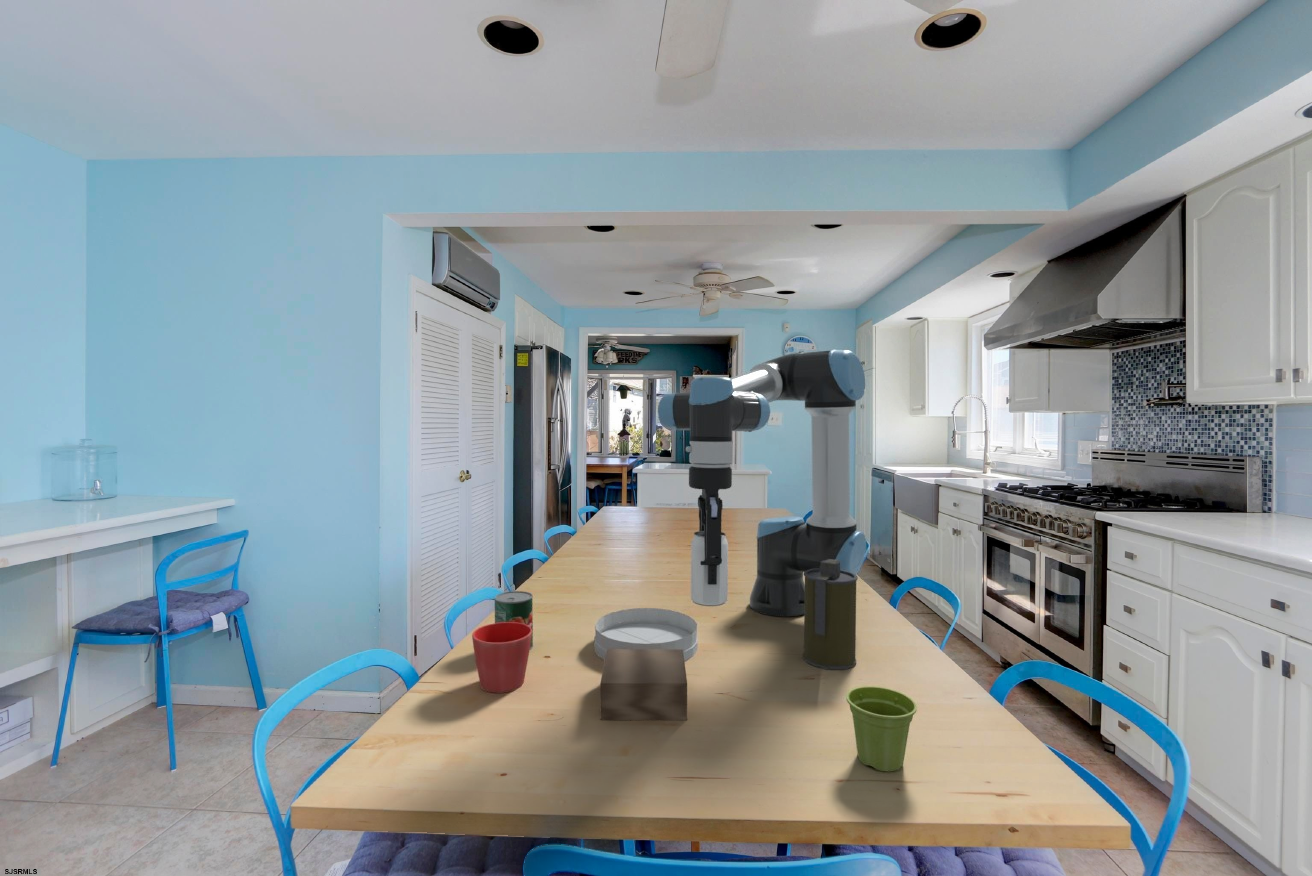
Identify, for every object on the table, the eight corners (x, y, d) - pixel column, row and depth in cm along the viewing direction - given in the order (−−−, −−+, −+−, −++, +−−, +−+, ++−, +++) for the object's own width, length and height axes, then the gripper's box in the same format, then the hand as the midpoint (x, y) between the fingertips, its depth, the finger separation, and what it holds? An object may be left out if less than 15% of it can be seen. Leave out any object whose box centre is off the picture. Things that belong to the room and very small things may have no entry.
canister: (813, 645, 127) (814, 553, 127) (862, 657, 121) (864, 560, 121) (793, 662, 118) (795, 563, 118) (846, 676, 112) (847, 571, 112)
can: (726, 596, 108) (727, 530, 107) (728, 607, 101) (728, 537, 101) (691, 595, 108) (691, 529, 108) (690, 606, 102) (690, 536, 101)
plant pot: (835, 743, 89) (836, 686, 89) (895, 740, 90) (896, 684, 90) (862, 781, 80) (863, 718, 80) (929, 778, 81) (930, 715, 80)
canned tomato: (505, 639, 130) (504, 589, 130) (538, 642, 129) (538, 592, 128) (487, 653, 123) (487, 600, 122) (523, 656, 121) (523, 603, 121)
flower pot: (543, 675, 112) (543, 624, 112) (511, 701, 102) (511, 646, 101) (495, 667, 116) (495, 618, 115) (459, 692, 105) (459, 638, 105)
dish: (719, 647, 127) (719, 624, 127) (647, 679, 111) (647, 653, 111) (645, 622, 142) (645, 601, 142) (572, 647, 126) (572, 624, 126)
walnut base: (682, 681, 110) (683, 649, 110) (687, 720, 96) (687, 683, 96) (607, 681, 110) (607, 649, 110) (600, 719, 96) (600, 683, 96)
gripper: (685, 461, 114) (684, 581, 114) (693, 469, 94) (692, 613, 95) (724, 461, 114) (722, 581, 114) (740, 470, 94) (738, 613, 95)
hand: (708, 595), depth 105 cm, fingers closed on can, 6 cm apart
